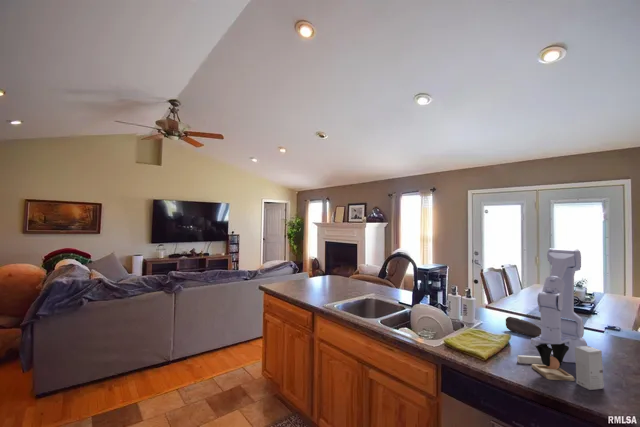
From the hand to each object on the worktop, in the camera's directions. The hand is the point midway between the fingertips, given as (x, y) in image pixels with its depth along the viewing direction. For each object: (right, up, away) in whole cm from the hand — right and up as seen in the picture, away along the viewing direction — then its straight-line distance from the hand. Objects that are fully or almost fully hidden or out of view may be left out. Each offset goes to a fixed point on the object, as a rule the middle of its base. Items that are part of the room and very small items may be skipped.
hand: (551, 364), depth 103 cm
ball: (0, -2, 0) cm, 2 cm away
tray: (0, -3, 0) cm, 3 cm away
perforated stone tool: (+18, -6, +39) cm, 43 cm away
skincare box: (+6, -3, -8) cm, 10 cm away
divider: (+1, -4, +8) cm, 9 cm away
